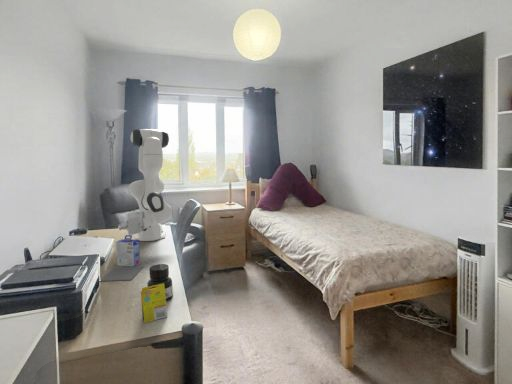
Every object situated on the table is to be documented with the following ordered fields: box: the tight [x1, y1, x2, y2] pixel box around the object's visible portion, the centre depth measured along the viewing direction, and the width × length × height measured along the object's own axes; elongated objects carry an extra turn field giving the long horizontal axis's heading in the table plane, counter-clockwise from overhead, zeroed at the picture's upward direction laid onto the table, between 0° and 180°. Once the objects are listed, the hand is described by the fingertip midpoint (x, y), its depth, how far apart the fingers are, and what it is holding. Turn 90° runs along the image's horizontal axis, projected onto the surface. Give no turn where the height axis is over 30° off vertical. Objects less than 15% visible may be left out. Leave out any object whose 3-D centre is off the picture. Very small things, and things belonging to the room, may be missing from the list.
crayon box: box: [140, 283, 168, 324], centre depth 102 cm, size 7×3×12 cm, turn 119°
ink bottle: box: [146, 263, 174, 302], centre depth 116 cm, size 10×9×12 cm
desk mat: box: [100, 265, 144, 283], centre depth 143 cm, size 17×14×1 cm
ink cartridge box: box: [115, 234, 141, 267], centre depth 155 cm, size 10×6×14 cm, turn 78°
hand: (118, 227), depth 169 cm, fingers closed
